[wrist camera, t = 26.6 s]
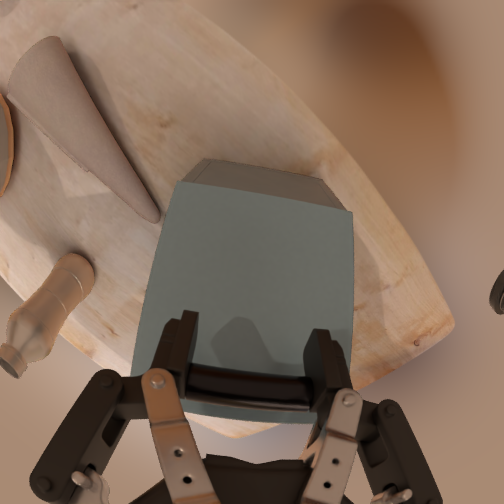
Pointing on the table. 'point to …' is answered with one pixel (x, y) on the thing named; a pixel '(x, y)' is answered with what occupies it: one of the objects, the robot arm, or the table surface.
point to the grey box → (263, 181)
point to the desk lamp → (5, 145)
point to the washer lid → (249, 297)
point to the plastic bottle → (45, 314)
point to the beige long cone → (74, 121)
